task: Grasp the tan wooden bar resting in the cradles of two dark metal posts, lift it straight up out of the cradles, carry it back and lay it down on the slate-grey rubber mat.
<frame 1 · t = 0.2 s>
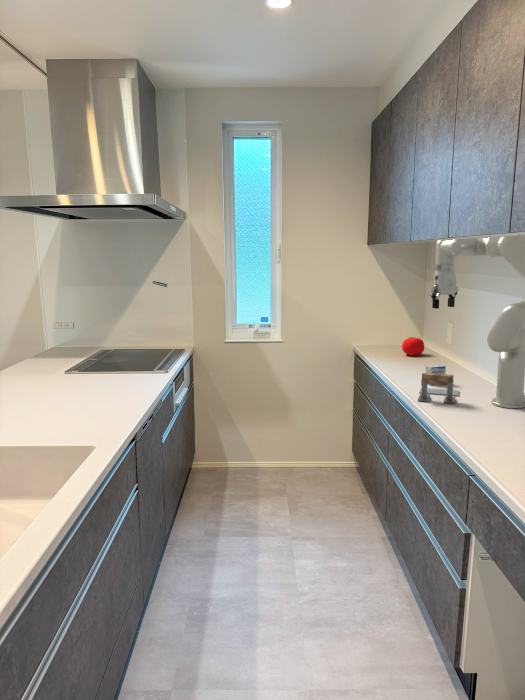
hand: (443, 307, 211), 37 cm above the worktop, tool pointing down, fingers open, 9 cm apart
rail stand: (436, 400, 199), on the worktop
medicine box: (435, 384, 226), on the worktop
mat: (439, 392, 210), on the worktop
tan wooden bar: (437, 384, 198), point 7 cm above the worktop, touching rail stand
tomato: (412, 355, 296), on the worktop
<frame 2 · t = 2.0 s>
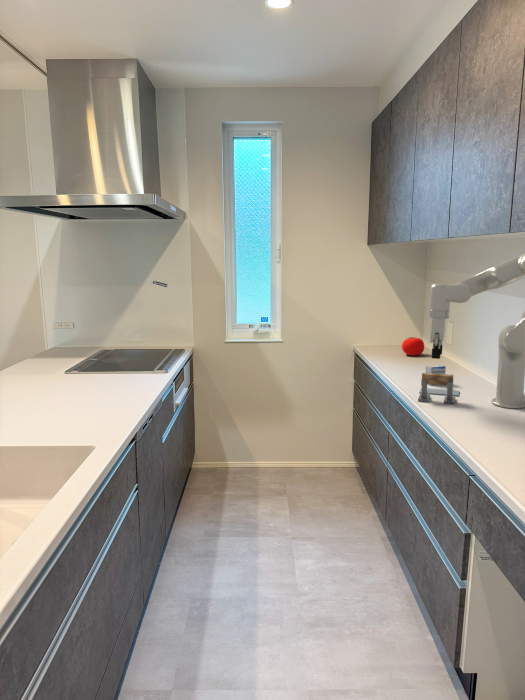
hand: (436, 356, 196), 19 cm above the worktop, tool pointing down, fingers open, 9 cm apart
nothing on the worktop moved.
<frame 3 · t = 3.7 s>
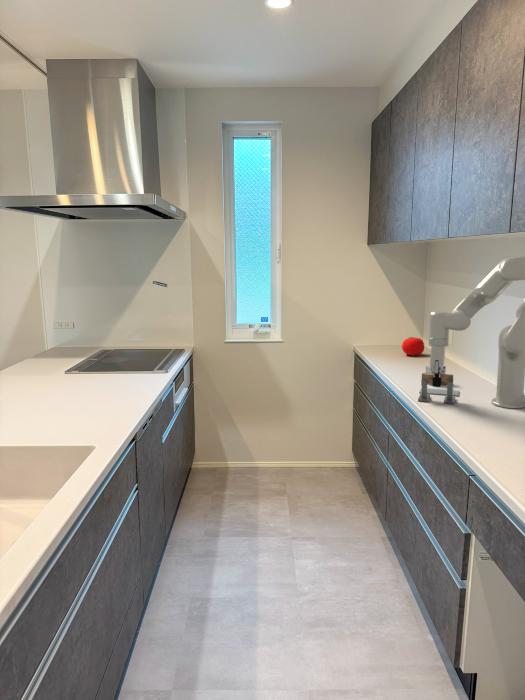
hand: (437, 385, 198), 6 cm above the worktop, tool pointing down, fingers closed on tan wooden bar, 2 cm apart
tan wooden bar: (437, 384, 198), point 7 cm above the worktop, touching gripper, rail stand
everything else where it was.
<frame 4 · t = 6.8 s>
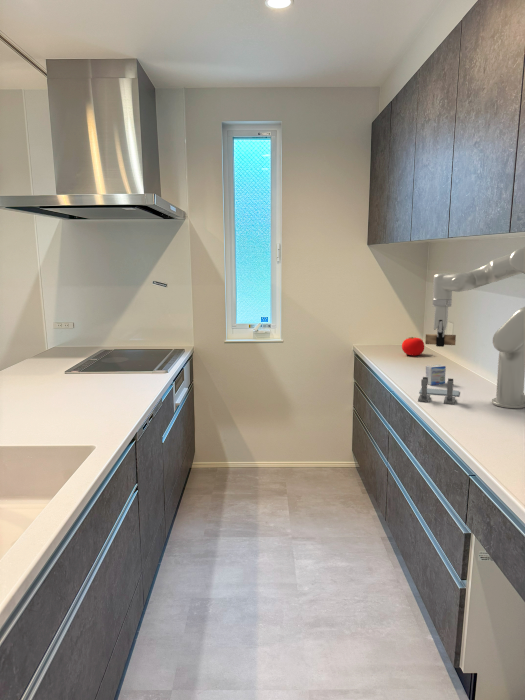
hand: (440, 345, 206), 21 cm above the worktop, tool pointing down, fingers closed on tan wooden bar, 3 cm apart
tan wooden bar: (440, 344, 206), point 22 cm above the worktop, touching gripper
everything else where it was.
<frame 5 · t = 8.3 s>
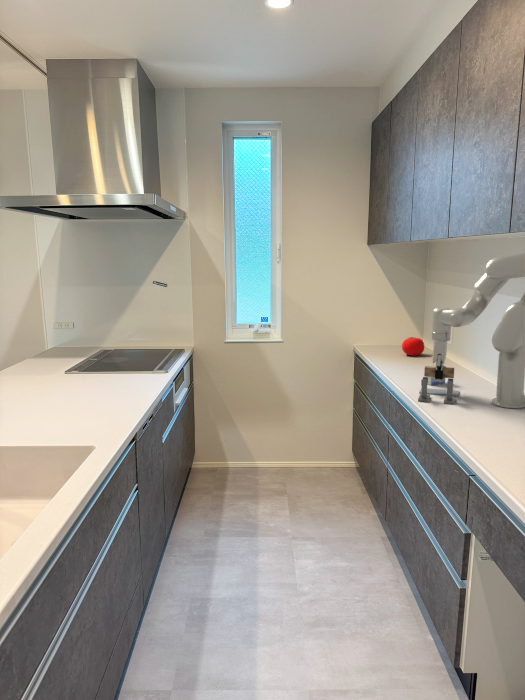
hand: (439, 377, 209), 7 cm above the worktop, tool pointing down, fingers closed on tan wooden bar, 3 cm apart
tan wooden bar: (439, 376, 209), point 7 cm above the worktop, touching gripper
everything else where it was.
when the fingers open (1 cm above the worktop, at t = 9.8 s): tan wooden bar drops 1 cm, resting on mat.
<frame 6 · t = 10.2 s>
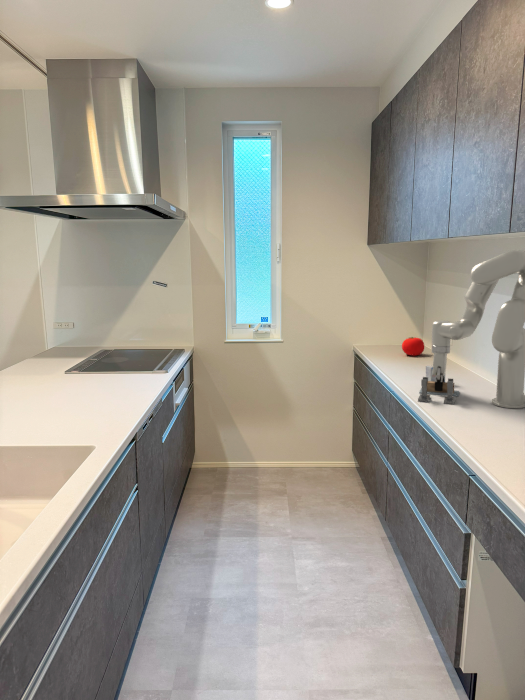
hand: (439, 388, 210), 2 cm above the worktop, tool pointing down, fingers open, 7 cm apart
tan wooden bar: (439, 391, 210), resting on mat
everything else where it was.
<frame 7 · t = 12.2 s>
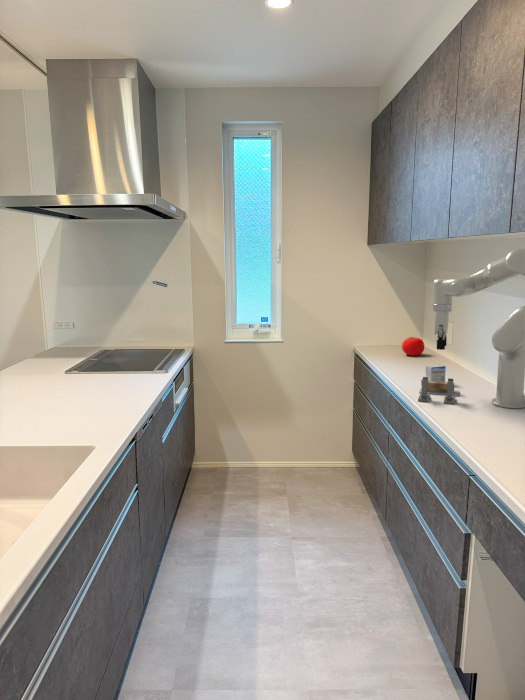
hand: (441, 347, 207), 20 cm above the worktop, tool pointing down, fingers open, 9 cm apart
nothing on the worktop moved.
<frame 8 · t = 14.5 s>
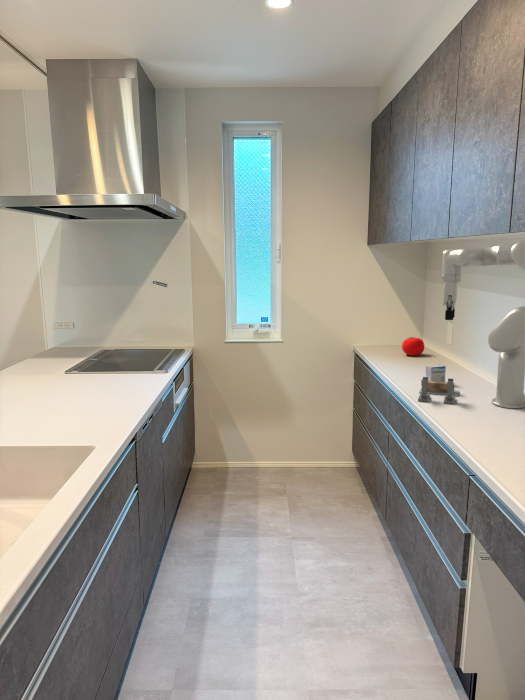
hand: (449, 318, 207), 32 cm above the worktop, tool pointing down, fingers open, 9 cm apart
nothing on the worktop moved.
at the end: tan wooden bar 0.0 cm off-centre on the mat, point 0.5 cm above the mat's base; tan wooden bar tilted 0°; the gripper is holding nothing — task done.
